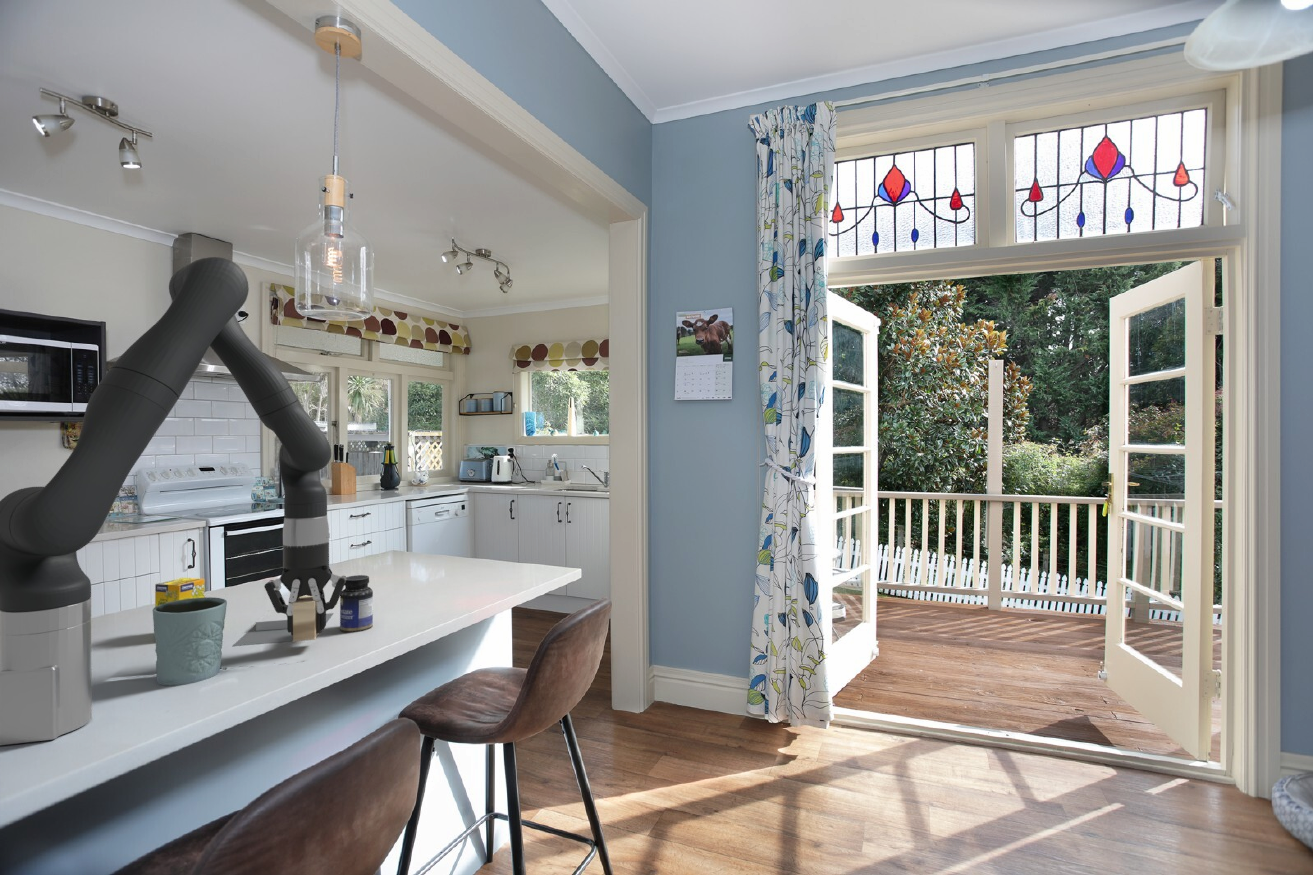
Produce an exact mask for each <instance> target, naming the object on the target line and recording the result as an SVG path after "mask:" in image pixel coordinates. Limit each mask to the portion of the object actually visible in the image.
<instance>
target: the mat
mask: <svg viewBox="0 0 1313 875" xmlns="http://www.w3.org/2000/svg"><path fill="white" fill-rule="evenodd" d="M333 615H334V612H331V613H326V624H327V623H328V621H329V620H330V619H331V618H332V616H333ZM289 642H293V635H291V632H290V633H289V632H288V630H287V629H276V630H263V631H256V624H255V625H253V626H252V627H251V628H250V629H249V630H248V631H247V632H246V633H245V634H244V635H243V636H241V637H240V638H239V639H238V640H237V641H236V642H234V643H233V644H232V647H241V646H243V647H244V646H251V645H252V646H254V645H266V644H267V645H268V644H278V643H289Z"/></svg>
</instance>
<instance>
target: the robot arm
mask: <svg viewBox="0 0 1313 875" xmlns="http://www.w3.org/2000/svg"><path fill="white" fill-rule="evenodd" d="M249 288H250V287H249V281H248V278H247V276H246V273H245V272H244V270H243V269H242V268H241V267H240V265H238V264H237V263H236V262H234V261H232V260H230V259H229V258H225V257H220V256H210V257H209V256H208V257H204V258H199V259H197V260H194V261H192V262H191V263H189V264H187V265H185V266H183V267H182V268H180V269H178V270H177V271H175V273H174V274H173V275H172V276H171V278H170V280H169V284H168V293H169V295H170V298H171V300H172V303H171V304H170V305H169V307H168V309H167V310H166V311H165V313H164V314H162V316H161V317H160V318H159V320H158V321H157V322H155V323H154V325H152V326H150V328H149V329H148V330H146V332H144V333H143V334H142V335H141V336H140V337H139V338H138V339H137V340H135V342H133V343H132V344H131V345H130V346H129V347H128V348H127V349H126V351H124V353H122V354H121V355H120V356H119V358H117V360H116V361H115V362H114V363H113V364H112V365H111V367H110V368H109V369H108V371H107V373H105V375H104V376H103V378H101V380H100V381H99V383H98V385H97V386H96V387H95V389H94V390H93V392H92V394H91V395H90V397H89V399H88V402H87V404H86V408H85V412H84V416H83V421H82V425H81V429H80V432H79V437H78V439H77V442H76V445H75V447H74V448H73V450H72V452H71V453H70V455H69V457H68V458H67V459H66V461H65V462H64V463H63V465H62V466H61V467H60V468H59V469H58V471H57V472H56V474H55V475H54V476H53V477H52V478H51V479H50V480H49V482H47V484H45V485H44V486H30V487H29V486H28V487H23V488H20V489H17V490H14V491H12V492H10V493H8V494H7V495H6V496H4V497H3V498H2V499H0V746H5V745H16V744H23V743H33V742H40V741H41V742H42V741H49V740H56V739H57V738H58V737H59V736H63V735H64V734H67V733H70V732H73V731H75V730H77V729H79V728H82V727H83V726H86V725H87V724H88V723H89V722H90V721H91V720H92V717H93V716H92V713H93V712H92V711H93V708H92V707H93V706H92V705H93V704H92V703H93V702H92V700H93V698H92V697H93V691H92V690H93V689H92V688H93V686H92V682H93V681H92V673H93V672H92V670H93V669H92V583H91V579H90V578H89V576H88V575H87V574H85V572H84V571H83V570H82V568H81V566H80V564H79V560H78V554H77V552H78V551H80V550H81V549H83V548H84V547H86V545H88V544H90V543H91V541H92V540H93V539H94V538H95V537H96V536H97V535H98V533H99V531H100V530H101V528H102V527H103V525H104V522H105V521H106V519H107V517H108V515H109V513H110V511H111V509H112V507H113V505H114V503H115V501H116V499H117V497H118V495H119V493H120V491H121V490H122V487H123V485H124V484H125V481H126V479H127V477H128V476H129V474H130V473H131V471H132V469H133V467H134V466H135V464H136V463H137V461H138V460H139V458H140V457H141V456H142V454H143V453H144V451H145V450H146V448H147V447H148V445H149V443H150V442H151V440H152V439H153V437H154V436H155V434H156V433H157V432H158V430H159V428H160V427H161V425H162V424H163V423H164V422H165V420H166V419H167V417H168V415H169V414H170V413H171V411H172V409H173V408H174V406H175V405H176V403H177V402H178V400H179V399H180V397H181V395H182V394H183V392H184V390H185V389H186V387H187V385H188V384H189V382H190V380H191V379H192V377H193V375H194V374H195V372H196V371H197V369H198V367H199V366H200V364H201V362H202V360H203V358H204V357H205V355H206V353H207V350H208V349H209V347H210V348H211V349H212V350H213V353H215V354H216V355H217V357H218V358H219V359H220V360H221V362H222V364H223V365H224V366H225V367H226V368H227V370H228V371H229V372H230V374H231V376H232V377H233V379H234V380H235V382H236V383H237V384H238V386H239V388H240V389H241V391H242V392H243V394H244V395H245V397H246V399H247V401H248V402H249V403H250V405H251V406H252V408H253V410H254V411H255V413H256V415H257V416H258V418H259V420H260V421H261V422H262V424H263V425H264V426H265V427H266V428H267V429H269V430H271V431H272V433H274V434H275V435H276V437H277V439H278V440H279V441H280V443H281V445H280V446H279V450H278V451H279V454H278V464H279V470H280V477H281V482H282V487H283V492H284V497H283V499H284V500H283V507H284V508H283V512H284V513H283V514H284V515H283V517H284V518H283V525H282V526H283V527H282V569H283V570H282V574H281V575H280V577H278V578H276V579H270V580H269V581H268V582H266V583H265V584H264V586H263V587H264V590H265V591H266V594H267V595H268V598H269V599H270V602H271V604H272V607H273V608H274V609H273V610H275V611H276V612H277V613H284V614H286V615H287V630H288V632H289V633H290V632H291V635H293V603H294V602H296V601H297V600H298V599H299V598H300V597H301V596H312V597H313V601H315V602H316V609H317V614H316V633H319V634H321V633H322V632H323V630H325V629H326V626H327V623H326V614H327V611H328V610H329V611H330V610H333V609H334V608H335V607H336V605H337V604H338V601H340V595H341V592H342V591H343V590H344V588H345V582H346V580H347V577H348V576H346V575H338V574H335V573H333V571H332V570H331V567H330V538H331V537H330V536H331V535H330V534H331V533H330V527H329V525H330V524H329V521H328V520H329V518H328V496H327V495H328V494H327V490H326V487H325V486H324V485H323V484H322V481H321V474H320V470H323V469H325V468H326V466H327V465H328V464H329V463H330V460H331V458H332V448H331V444H330V442H329V440H328V438H327V436H326V435H325V434H324V431H322V429H321V428H320V427H319V426H318V425H317V423H316V422H315V421H314V419H313V418H312V417H311V416H310V415H309V414H308V412H306V410H305V409H304V408H303V406H302V403H301V401H300V400H299V398H298V396H297V395H296V393H295V391H294V389H293V388H292V386H291V384H290V383H289V381H288V380H287V378H286V377H285V375H284V374H283V372H282V371H281V370H280V369H279V368H278V366H276V364H275V363H273V361H272V360H270V358H268V356H266V355H265V354H264V353H263V352H262V351H261V350H260V349H259V347H257V345H255V344H254V343H253V342H252V340H251V339H250V338H249V336H248V335H247V334H246V333H245V331H244V329H243V328H242V326H241V325H240V323H239V320H238V318H237V317H236V314H237V313H238V311H239V310H241V308H242V307H243V306H244V304H245V302H246V301H247V299H248V295H249ZM329 581H331V586H332V588H334V589H333V591H332V594H331V596H330V599H329V601H327V602H326V598H325V597H326V595H325V591H324V588H325V587H326V585H328V583H329ZM282 585H283V586H284V587H285V588H286V589H287V590H288V592H289V593H290V595H289V598H288V604H286V601H285V600H284V599H285V598H284V597H283V596H282V593H281V591H280V590H281V589H282Z"/></svg>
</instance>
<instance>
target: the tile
mask: <svg viewBox="0 0 1313 875" xmlns="http://www.w3.org/2000/svg"><path fill="white" fill-rule="evenodd" d="M255 625H256V631H263V630H276V629H287V615H286V614H284V613H277V612H276V611H275V609H271V610H268V611H267V612H266V613H264V614H263V615H262V616H261V617H260V618H259V619H257V621H255Z"/></svg>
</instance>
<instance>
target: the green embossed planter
mask: <svg viewBox="0 0 1313 875" xmlns="http://www.w3.org/2000/svg"><path fill="white" fill-rule="evenodd" d="M227 604H228V602H227V599H225V598H221V597H211V596H209V597H208V596H207V597H204V598H191V599H184V600H177V601H172V602H168V603H164V604H161V605H158V606H156V607H153V608H152V620H153V635H154V641H155V649H154V650H155V654H156V661H155V668H156V669H155V670H156V681H157V684H159V685H163V686H182V685H188V684H194V683H198V682H201V681H204V680H207V679H210V678H213V677H214V676H216V675H218V674H219V673H220V670H221V665H222V657H223V656H222V655H223V653H222V648H223V639H224V633H223V631H224V629H225V620H226V615H227V614H226V613H227V607H228V606H227Z"/></svg>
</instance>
